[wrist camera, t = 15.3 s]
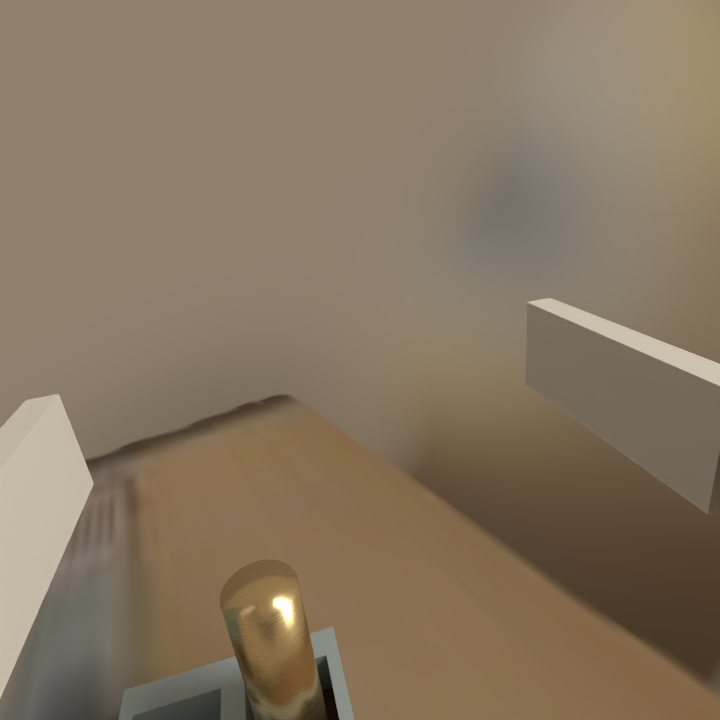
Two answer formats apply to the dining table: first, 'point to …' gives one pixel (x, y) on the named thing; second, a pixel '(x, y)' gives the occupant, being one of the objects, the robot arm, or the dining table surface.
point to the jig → (226, 689)
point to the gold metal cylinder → (273, 642)
